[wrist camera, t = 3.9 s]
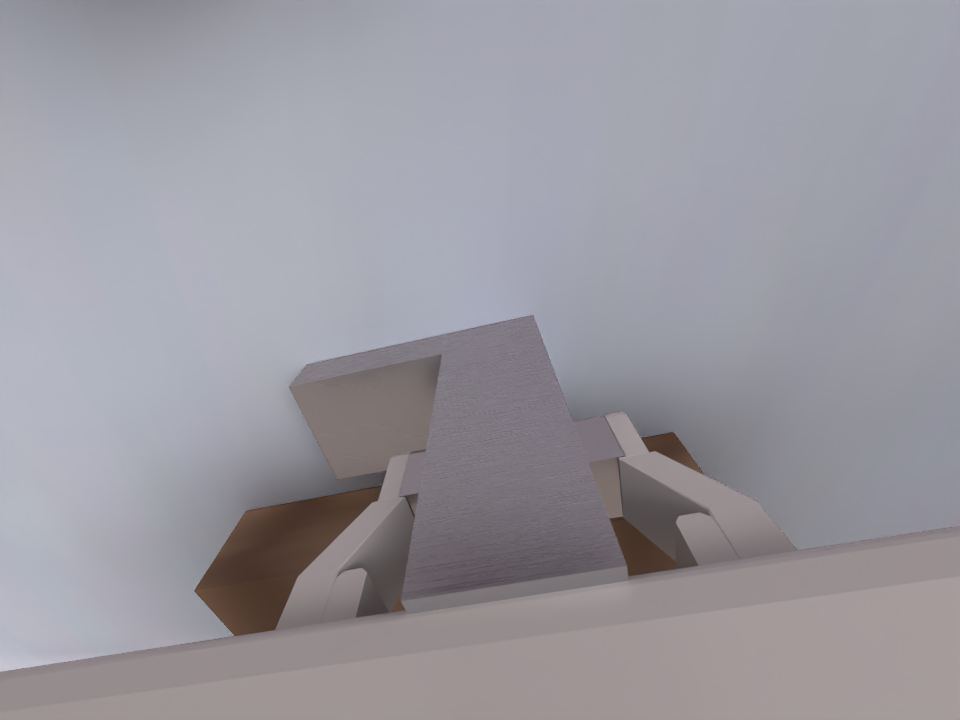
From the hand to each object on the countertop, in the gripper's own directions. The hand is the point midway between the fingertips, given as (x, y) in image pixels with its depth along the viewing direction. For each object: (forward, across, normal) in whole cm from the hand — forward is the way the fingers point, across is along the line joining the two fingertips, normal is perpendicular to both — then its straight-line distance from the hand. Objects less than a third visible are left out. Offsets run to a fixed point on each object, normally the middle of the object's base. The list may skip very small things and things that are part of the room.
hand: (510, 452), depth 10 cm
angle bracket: (+4, +3, 0) cm, 5 cm away
